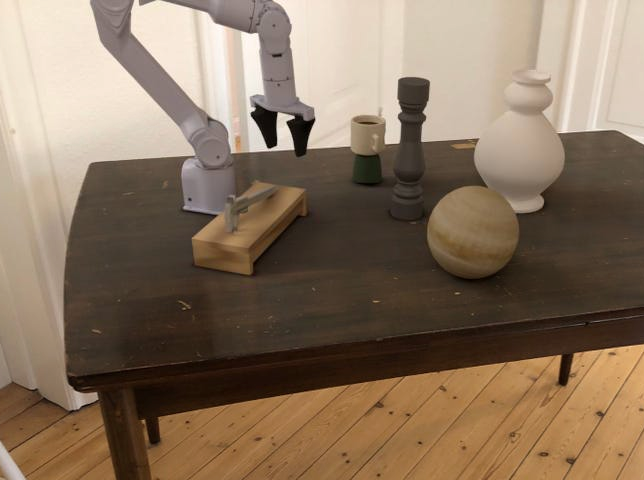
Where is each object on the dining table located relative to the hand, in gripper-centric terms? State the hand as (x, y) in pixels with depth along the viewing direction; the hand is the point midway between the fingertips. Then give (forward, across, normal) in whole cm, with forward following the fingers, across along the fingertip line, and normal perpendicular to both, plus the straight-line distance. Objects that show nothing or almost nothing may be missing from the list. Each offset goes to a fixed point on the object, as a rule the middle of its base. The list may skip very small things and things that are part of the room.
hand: (286, 151), depth 140 cm
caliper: (+5, -6, +15) cm, 17 cm away
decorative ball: (+12, -42, +1) cm, 44 cm away
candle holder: (+12, -20, -12) cm, 26 cm away
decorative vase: (+14, -32, -32) cm, 47 cm away
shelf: (+10, -6, +16) cm, 19 cm away
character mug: (+12, -4, -19) cm, 23 cm away
